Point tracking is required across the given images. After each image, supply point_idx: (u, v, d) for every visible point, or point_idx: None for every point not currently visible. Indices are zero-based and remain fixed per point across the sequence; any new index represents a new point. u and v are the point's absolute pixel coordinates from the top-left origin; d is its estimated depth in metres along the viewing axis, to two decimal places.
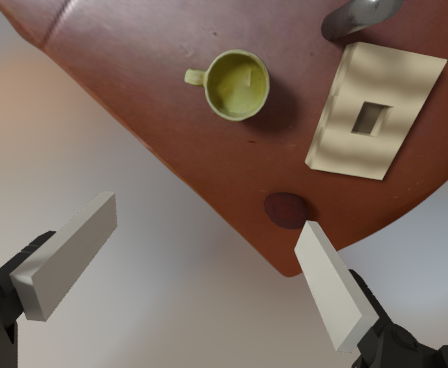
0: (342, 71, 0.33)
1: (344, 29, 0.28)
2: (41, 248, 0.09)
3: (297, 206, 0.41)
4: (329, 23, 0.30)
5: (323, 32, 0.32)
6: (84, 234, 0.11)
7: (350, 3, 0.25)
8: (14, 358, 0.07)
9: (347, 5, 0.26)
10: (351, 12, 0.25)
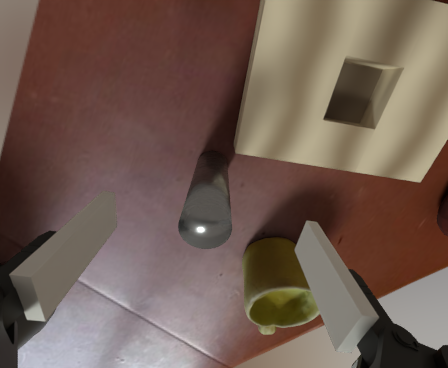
0: None
1: None
2: (41, 248, 0.09)
3: None
4: None
5: None
6: (84, 234, 0.11)
7: None
8: (14, 358, 0.07)
9: None
10: None
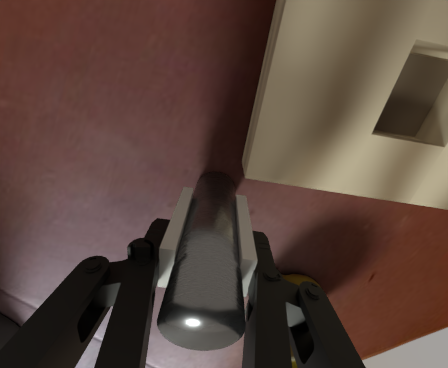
0: None
1: None
2: (168, 230, 0.11)
3: None
4: None
5: None
6: (185, 221, 0.13)
7: None
8: (150, 323, 0.09)
9: None
10: None
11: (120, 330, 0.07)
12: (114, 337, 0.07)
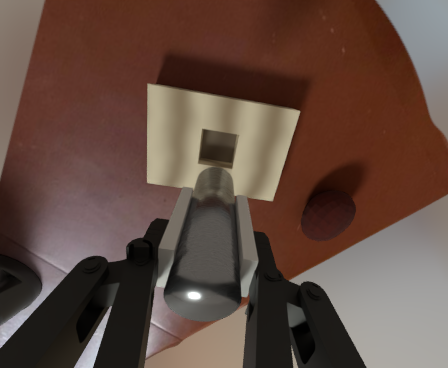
0: None
1: None
2: (167, 230, 0.11)
3: (319, 216, 0.33)
4: None
5: None
6: (184, 221, 0.13)
7: None
8: (149, 324, 0.09)
9: None
10: None
11: (119, 330, 0.07)
12: (113, 337, 0.07)
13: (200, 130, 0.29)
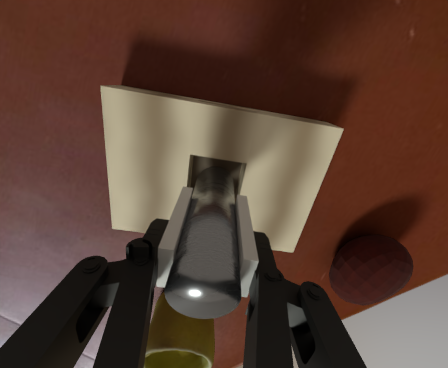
0: None
1: None
2: (167, 230, 0.11)
3: (360, 275, 0.23)
4: None
5: None
6: (184, 220, 0.13)
7: None
8: (149, 324, 0.09)
9: None
10: None
11: (119, 330, 0.07)
12: (113, 337, 0.07)
13: (187, 157, 0.19)
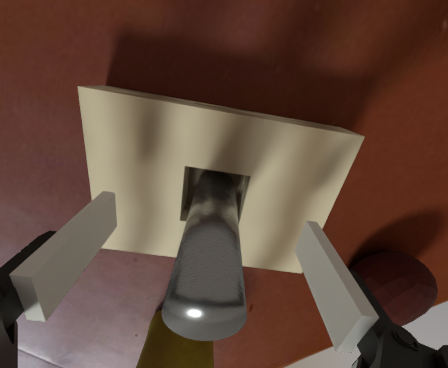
0: None
1: None
2: (41, 248, 0.09)
3: (378, 299, 0.21)
4: None
5: None
6: (84, 234, 0.11)
7: None
8: (14, 358, 0.07)
9: None
10: None
11: None
12: None
13: (182, 168, 0.16)
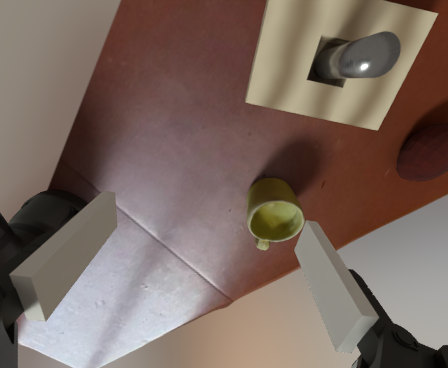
0: None
1: None
2: (41, 248, 0.09)
3: (431, 147, 0.30)
4: None
5: None
6: (84, 234, 0.11)
7: (343, 76, 0.24)
8: (14, 358, 0.07)
9: (340, 76, 0.24)
10: None
11: None
12: None
13: (319, 36, 0.26)
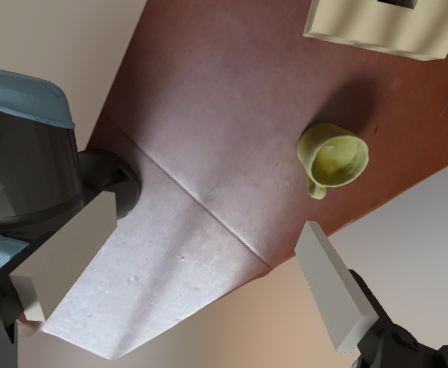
0: (331, 38, 0.30)
1: None
2: (41, 248, 0.09)
3: None
4: None
5: None
6: (84, 234, 0.11)
7: None
8: (14, 358, 0.07)
9: None
10: None
11: None
12: None
13: None
